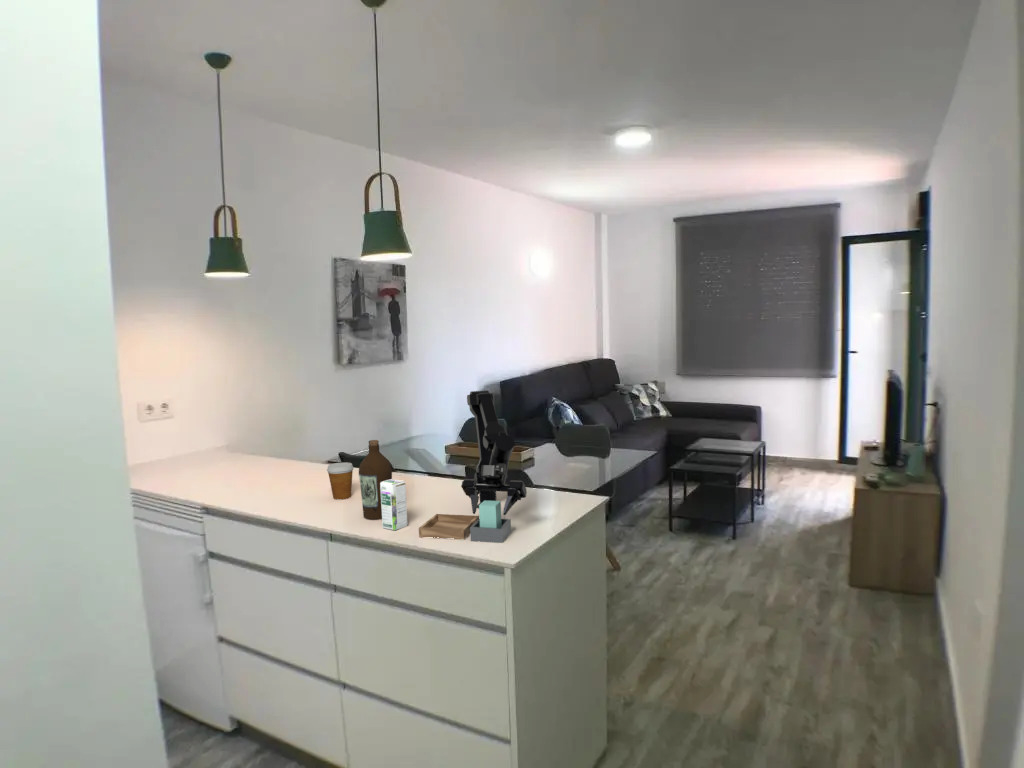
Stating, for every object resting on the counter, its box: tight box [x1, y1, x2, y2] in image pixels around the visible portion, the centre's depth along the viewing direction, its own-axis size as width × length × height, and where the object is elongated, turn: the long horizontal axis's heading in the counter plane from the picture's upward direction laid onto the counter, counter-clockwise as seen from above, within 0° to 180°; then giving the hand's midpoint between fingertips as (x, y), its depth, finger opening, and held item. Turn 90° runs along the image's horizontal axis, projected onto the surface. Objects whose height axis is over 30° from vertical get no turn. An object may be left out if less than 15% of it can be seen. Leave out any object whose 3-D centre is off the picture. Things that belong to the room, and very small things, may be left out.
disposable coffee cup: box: [326, 462, 355, 500], centre depth 245 cm, size 10×10×12 cm
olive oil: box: [358, 439, 393, 521], centre depth 219 cm, size 11×11×25 cm
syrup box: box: [380, 478, 408, 531], centre depth 207 cm, size 6×6×14 cm
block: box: [478, 500, 502, 528], centre depth 195 cm, size 5×5×10 cm
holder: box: [469, 518, 512, 544], centre depth 195 cm, size 9×9×4 cm
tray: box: [418, 513, 480, 540], centre depth 202 cm, size 14×14×3 cm
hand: (488, 514), depth 193 cm, fingers open, 9 cm apart
